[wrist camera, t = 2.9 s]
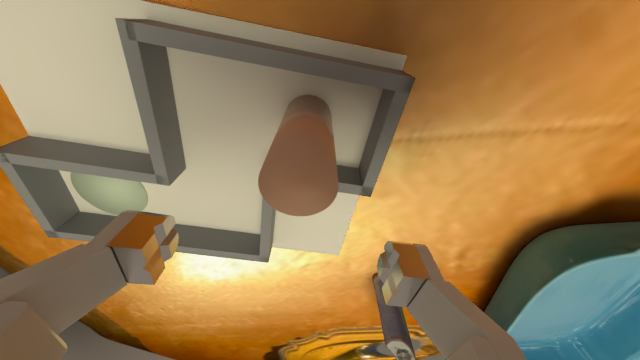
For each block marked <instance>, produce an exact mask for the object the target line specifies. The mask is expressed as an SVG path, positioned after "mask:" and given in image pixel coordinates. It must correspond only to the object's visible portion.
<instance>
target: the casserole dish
mask: <svg viewBox="0 0 640 360" xmlns="http://www.w3.org/2000/svg"><path fill="white" fill-rule="evenodd" d="M484 313H485V314H486V315H487V316H489V317H490V318H491V319H492V320H493V321H494V322H495V323H497V324H498V325H499V326H500V327H501V328H502V329H503V330H505V331H506V332H507V333H508V334H509V335H510V336H511V337H513V338H514V340H515V341H516V343H517V345H518V346H519V348H520V349H521V351H522V352H523V354H524V356H525V357H526V359H527V360H640V222H620V223H601V224H585V225H574V226H567V227H561V228H557V229H554V230H551V231H548V232H546V233H544V234H542V235H540V236H538V237H537V238H535V239H534V240H532V241H531V242H530V243H529V244H528V245H527V246H526V247H525V248H524V249H523V250H522V251H521V252H520V253H519V254H518V256H517V257H516V258H515V260H514V261H513V263H512V264H511V266H510V267H509V269H508V271H507V272H506V274H505V276H504V278H503V280H502V281H501V283H500V285H499V287H498V289H497V290H496V292H495V294H494V296H493V297H492V299H491V301H490V303H489V304H488V306H487V308H486V310H485V312H484Z"/></svg>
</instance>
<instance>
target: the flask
mask: <svg viewBox="0 0 640 360" xmlns="http://www.w3.org/2000/svg"><path fill="white" fill-rule="evenodd" d="M373 283H374V288H375V293H376V298H377V302H378V308H379V312H380V318H381V324H382V329H383V334H384V341H385V344H386V347H387V348H388V349H389V350H390V351H391V352H392V353H393V354H394V356H395V358H396V360H415V353H414V350H413V346H412V343H411V339H410V335H409V332H408V328H407V324H406V321H405V317H404V314H403V310H402V307H398V306H389V305H386V304H385V300H384V296H383V292H382V287H383V285H384V283H383V282H382V281H381V280H380V278H379V276H378V274H376V275H375V274H374V276H373Z"/></svg>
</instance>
